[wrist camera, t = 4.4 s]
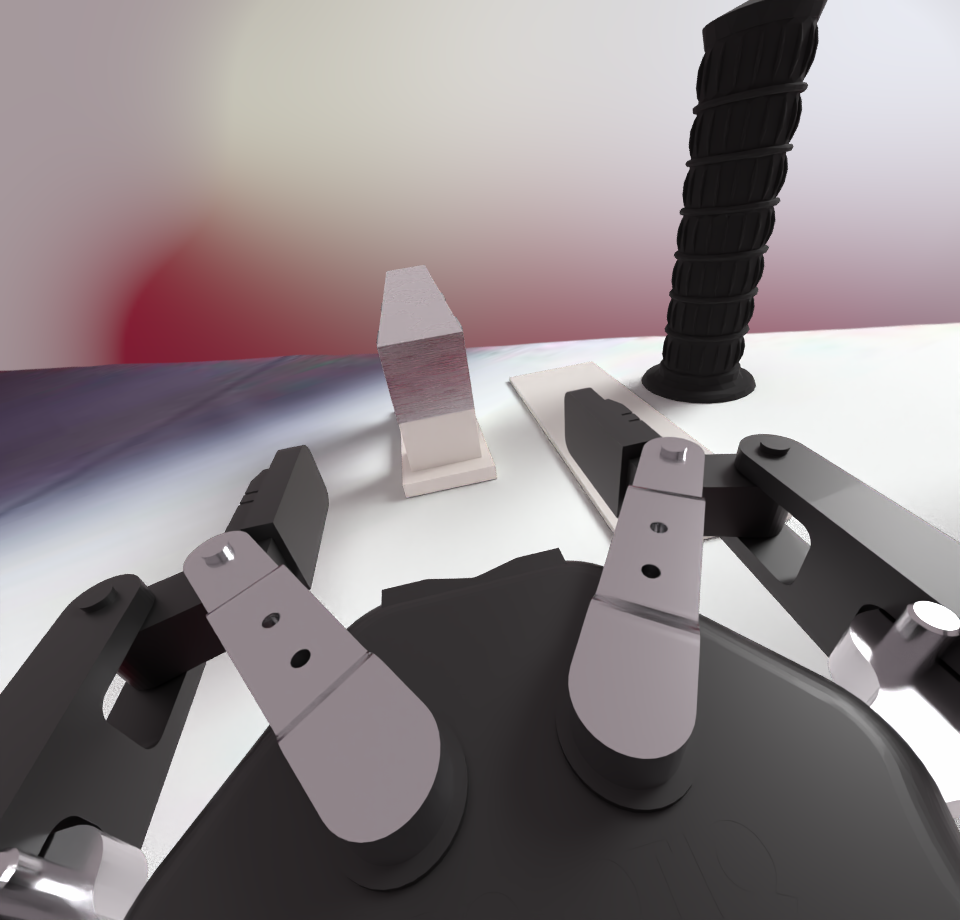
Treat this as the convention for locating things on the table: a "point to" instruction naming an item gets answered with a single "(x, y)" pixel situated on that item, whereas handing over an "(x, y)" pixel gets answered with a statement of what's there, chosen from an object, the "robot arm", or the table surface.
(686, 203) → the handle grip
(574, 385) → the mat
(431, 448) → the rack
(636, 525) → the robot arm
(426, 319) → the rail
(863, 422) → the table surface
